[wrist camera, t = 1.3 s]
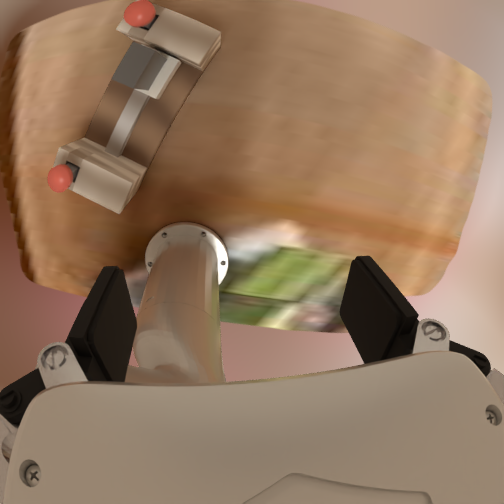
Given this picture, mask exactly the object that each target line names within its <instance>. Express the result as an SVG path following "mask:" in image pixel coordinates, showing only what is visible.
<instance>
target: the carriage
mask: <svg viewBox="0 0 504 504" xmlns="http://www.w3.org/2000/svg"><path fill="white" fill-rule="evenodd" d="M180 64H181V62H180V60H178V59H175V58H173V57H171V56H169V55H167V54H164V53H162V52H160V51H157V50H155V49H153V48H150V47H148V46H145V45H143V44H138V43H136V42H133V43H132V44H131V46H130V48H129V49H128V51H127V52H126V54H125V56H124V57H123V59H122V61H121V63H120V64H119V66H118V68H117V70H116V71H115V73H114V75H113V77H112V80H114V81H117V82H119V83H121V84H124V85H126V86H128V87H131V88H133V89H135V90H138V91H140V92H142V93H144V94H146V95H149V96H151V97H153V98H155V99H160V97H161V95H162V94H163V92H164V90H165V88H166V87H167V85H168V83H169V82H170V80H171V79H172V77H173V75H174V74H175V72H176V71H177V69H178V67H179V66H180Z"/></svg>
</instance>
